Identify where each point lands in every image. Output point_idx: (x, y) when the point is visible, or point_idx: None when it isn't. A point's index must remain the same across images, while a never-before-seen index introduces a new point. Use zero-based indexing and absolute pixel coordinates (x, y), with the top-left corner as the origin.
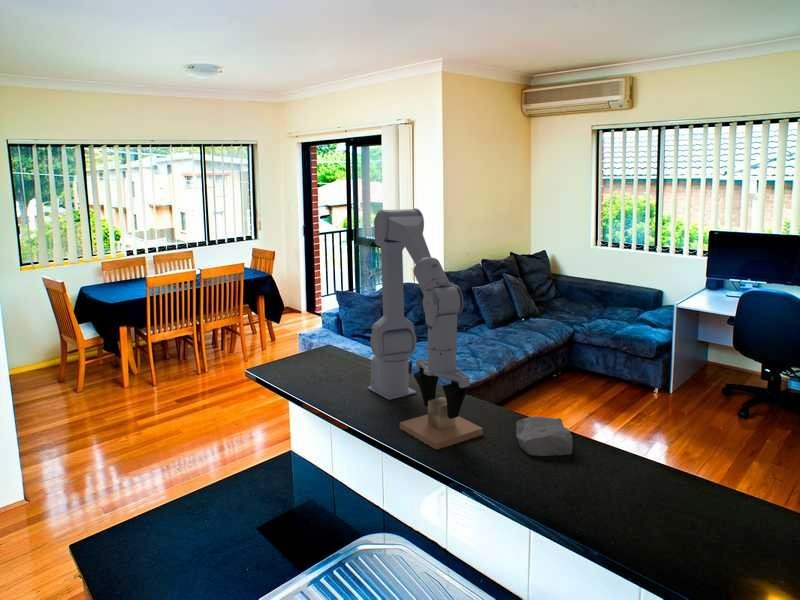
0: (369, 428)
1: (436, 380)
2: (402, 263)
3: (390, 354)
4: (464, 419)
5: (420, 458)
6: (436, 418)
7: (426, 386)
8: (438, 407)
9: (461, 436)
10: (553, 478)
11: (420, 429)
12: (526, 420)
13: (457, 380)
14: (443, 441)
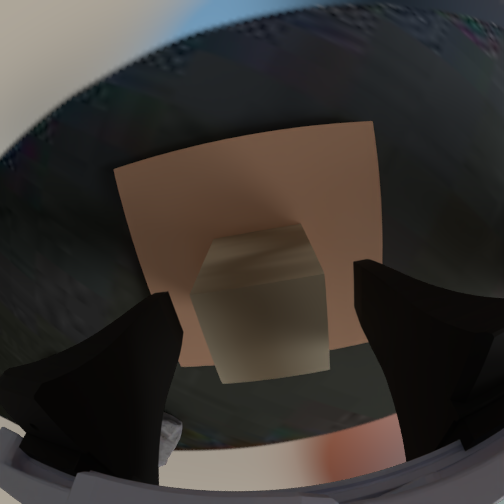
0: (403, 35)
1: (401, 418)
2: None
3: None
4: None
5: (95, 94)
6: (235, 252)
7: (409, 336)
8: (209, 286)
9: (150, 286)
10: (2, 331)
11: (262, 165)
12: (160, 441)
13: (1, 464)
14: (122, 205)
